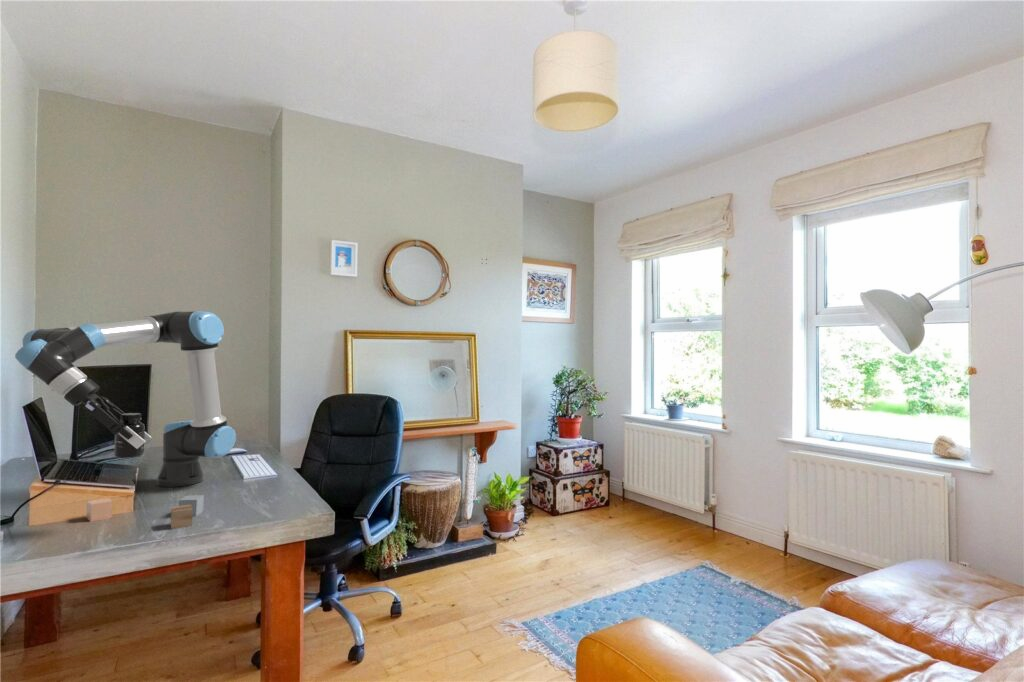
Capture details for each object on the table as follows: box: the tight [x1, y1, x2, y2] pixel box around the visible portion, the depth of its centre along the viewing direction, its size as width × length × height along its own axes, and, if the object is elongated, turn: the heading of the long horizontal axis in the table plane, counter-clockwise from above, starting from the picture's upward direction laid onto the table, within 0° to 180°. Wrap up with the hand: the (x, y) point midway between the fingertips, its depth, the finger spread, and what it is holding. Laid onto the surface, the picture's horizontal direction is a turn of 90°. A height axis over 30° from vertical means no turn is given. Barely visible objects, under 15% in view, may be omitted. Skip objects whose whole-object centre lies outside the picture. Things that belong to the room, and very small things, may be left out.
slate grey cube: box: [178, 494, 205, 517], centre depth 159 cm, size 5×5×5 cm
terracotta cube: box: [86, 497, 113, 522], centre depth 153 cm, size 5×5×5 cm
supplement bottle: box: [113, 412, 146, 459], centre depth 148 cm, size 7×7×12 cm
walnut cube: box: [170, 505, 193, 530], centre depth 148 cm, size 5×5×5 cm
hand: (144, 442), depth 149 cm, fingers closed on supplement bottle, 7 cm apart
